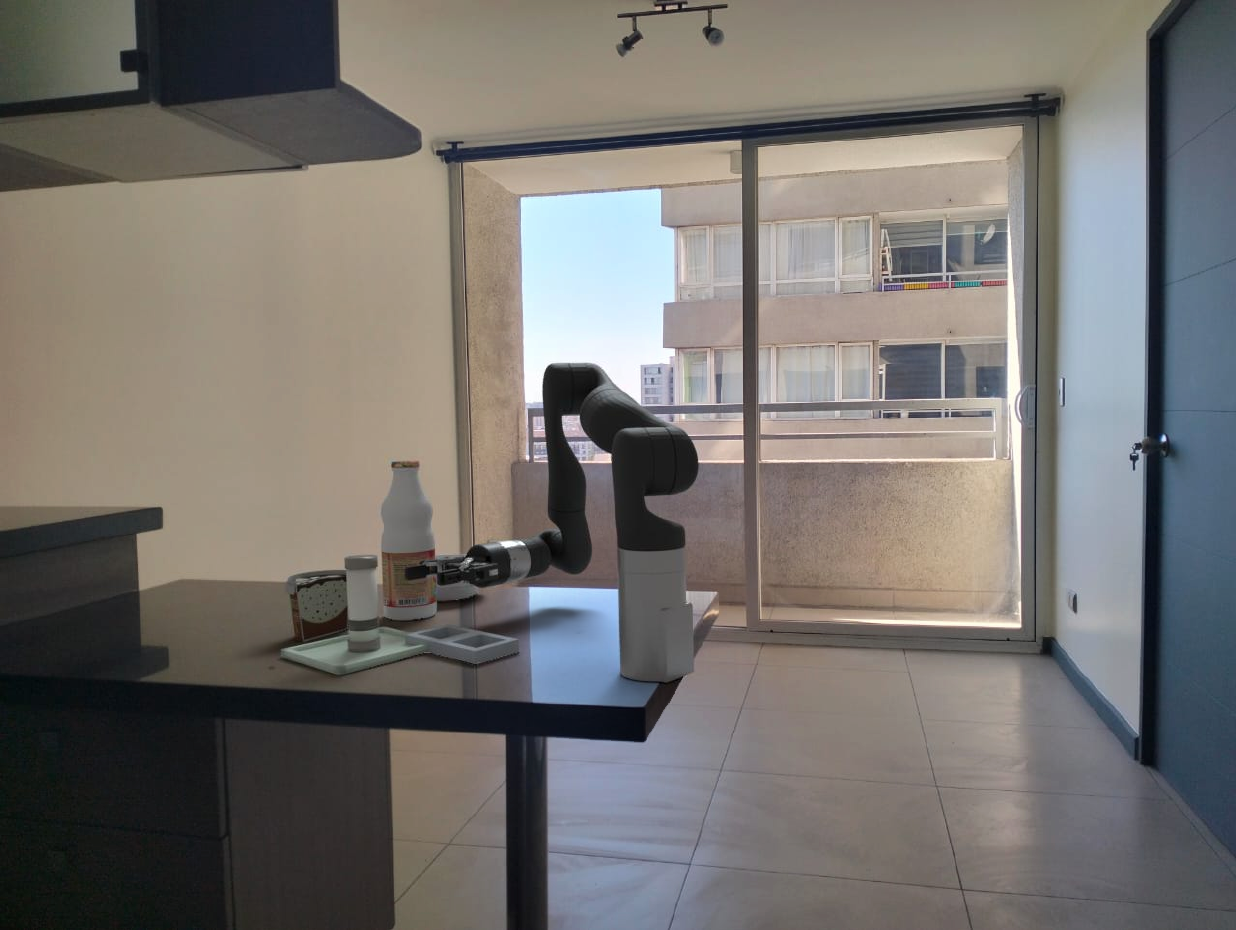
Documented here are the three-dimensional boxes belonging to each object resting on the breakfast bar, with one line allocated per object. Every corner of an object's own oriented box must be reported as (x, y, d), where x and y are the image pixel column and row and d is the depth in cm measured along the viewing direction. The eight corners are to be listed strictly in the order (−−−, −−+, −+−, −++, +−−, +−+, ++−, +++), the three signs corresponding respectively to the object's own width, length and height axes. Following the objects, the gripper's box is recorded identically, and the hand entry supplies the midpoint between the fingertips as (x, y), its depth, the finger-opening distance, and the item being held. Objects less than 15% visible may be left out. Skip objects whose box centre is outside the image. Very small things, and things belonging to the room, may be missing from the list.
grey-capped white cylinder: (387, 647, 134) (383, 556, 133) (359, 654, 130) (355, 560, 129) (369, 643, 137) (365, 553, 136) (341, 649, 133) (338, 557, 132)
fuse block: (519, 652, 131) (518, 639, 131) (475, 665, 125) (474, 651, 125) (448, 636, 142) (448, 624, 142) (405, 647, 136) (404, 634, 136)
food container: (330, 624, 153) (327, 567, 153) (354, 627, 150) (352, 569, 150) (270, 640, 143) (267, 578, 142) (295, 644, 140) (292, 581, 139)
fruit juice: (372, 617, 158) (367, 462, 157) (414, 608, 165) (409, 459, 164) (406, 623, 152) (401, 462, 151) (448, 613, 160) (443, 460, 158)
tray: (444, 648, 135) (444, 640, 135) (339, 675, 121) (339, 667, 121) (384, 633, 145) (383, 626, 145) (281, 657, 132) (281, 649, 132)
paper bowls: (501, 592, 180) (500, 553, 179) (462, 607, 166) (460, 565, 165) (437, 588, 185) (436, 551, 185) (394, 602, 171) (393, 562, 171)
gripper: (471, 538, 158) (395, 550, 146) (525, 544, 148) (449, 557, 136) (472, 580, 158) (396, 594, 146) (527, 588, 149) (450, 604, 137)
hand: (422, 576), depth 141 cm, fingers open, 8 cm apart
